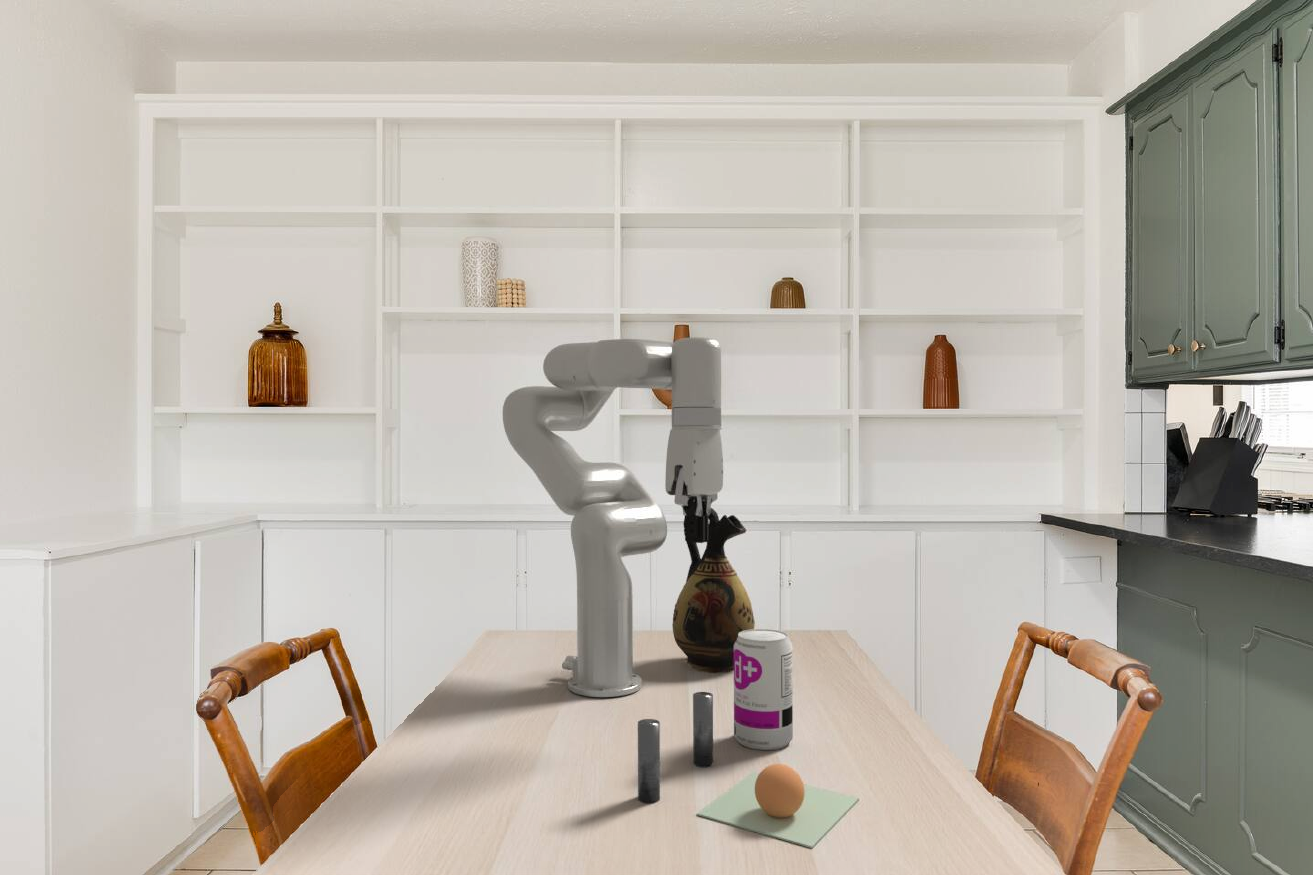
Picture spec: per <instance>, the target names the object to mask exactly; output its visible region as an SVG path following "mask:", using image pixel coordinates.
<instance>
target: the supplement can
mask: <svg viewBox="0 0 1313 875" xmlns="http://www.w3.org/2000/svg"><path fill="white" fill-rule="evenodd" d="M793 668H794V666H793V643H791V640H790V638H789V635H788V634H787V633H786V632H784V631H782V630H781V631H780V630H777V629H768V628H754V629H752V630H745V631H742V632H739V634H738V638H737V640H736V642H735V644H734V670H733V736H734V738H735V739H736V740H737V741H738V742H739V744H740V745H742V746H744V747H746V748H749V749H752V750H757V751H758V750H759V751H772V750H780V749H783V748H785V747H786V746H788V745H789V743H790V742H792V740H793V738H794V737H793V736H794V735H793V734H794V729H793V728H794V722H793V721H794V719H793V718H794V716H793V715H794V711H793V710H794V709H793V707H794V702H793V701H794V698H793V697H794V696H793V695H794V694H793V693H794V692H793V691H794V690H793V687H794V686H793V684H794V683H793V676H794V675H793V673H794V672H793Z"/></svg>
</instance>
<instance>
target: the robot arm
mask: <svg viewBox="0 0 1313 875" xmlns="http://www.w3.org/2000/svg"><path fill="white" fill-rule="evenodd" d="M721 349H722V348H721V344H720V343H719V341H718V340H716V339H714V338H710V337H697V336H696V337H695V336H694V337H683V338H679V339H676V340H675V341H674V342H672V341H661V340H651V339H639V338H619V339H604V340H603V339H602V340H599V341H594V342H593V341H591V342H574V343H573V342H572V343H563V344H561V345H557V346H555V347H553V348H552V349H550V351H548V353H547V354H546V356H545V358H544V360H543V364H542V365H543V366H542V369H543V373H544V376H545V378H546V380H548V382H549V383H550V384H551V385H553V386H543V385H542V386H541V385H540V386H539V385H536V386H535V385H534V386H533V385H532V386H525V387H520V388H517V389H515V390H513V391H512V392H510V393H509V394H508V395H507V397H506V398H505V400H504V401H503V406H502V423H503V427H504V432H505V435H506V437H507V439H508V442H509V444H510V445H511V447H512V448H513V450H514V452H516V453H517V455H518V456H519V457H520V458H521V459H522V461H523V462H524V463H525V464H527V466H528V467H529V468H530V469H531V470H532V471H533V473H534V474H535V476H536V477H537V479H538V481H539V482H540V483H541V485H542V486H543V488H544V490H545V491H546V492H547V493H548V495H549V496H550V498H551V499H552V501H553V502H554V504H555V506H557V508H558V509H560V512H562V513H564V514H565V515H568V516H571V517H573V518H572V521H571V524H570V537H571V543H572V547H573V553H574V560H575V567H576V568H575V570H576V572H575V573H576V622H577V623H576V625H577V626H576V628H577V630H576V638H577V639H576V642H577V643H576V644H577V645H576V646H577V648H576V652H577V653H576V654H577V656H575V655H570V654H569V655H567V656H566V657H565V659H564V661H563V662H562V663H561V668H562V669H563V670H567V671H571V672H572V677H571V678H569V679H568V682H567V683H568V686H567V687H568V690H570V691H571V692H572V693H574V694H576V695H579V696H583V697H589V698H615V697H622V696H626V695H630V694H633V693H636V692H637V691H640V689H641V688H642V687H643V682H642V678H641V676H639V675H638V674H635V673H634V667H633V666H634V658H633V657H634V653H633V652H634V650H633V649H634V648H633V646H634V640H633V638H634V635H633V634H634V633H633V632H634V631H633V629H634V627H633V623H634V621H633V620H634V619H633V618H634V617H633V616H634V615H633V611H634V610H633V608H634V607H633V604H634V603H633V582H632V577H631V575H630V573H629V571H628V570H627V568H626V565H625V564H624V561H623V560H622V558H623V557H627V556H629V557H630V556H635V555H636V556H637V555H644V554H650V553H652V552H655V551H657V550H659V549H660V548H661V547H662V546H663V545H664V543H665V541H666V539H667V536H668V525H667V524H668V523H667V520H666V517H665V514H664V512H663V510H662V508H661V507H660V505H658V503H657V502H656V500H655V499H654V498H653V497H652V495H651V494H650V493H649V492H648V490H647V489H646V488H645V486H644V485H643V484H642V482H641V481H640V480H639V479H638V477H636V475H635V474H634V473H633V472H632V470H630V469H629V468H628V467H626V466H625V465H622V464H621V463H616V462H591V461H587V460H584V459H583V458H582V457H581V456H580V455H579V453H577V452H576V449H575V448H574V447H573V446H572V445H571V444H570V443H569V442H568V441H567V440H566V439H564V438H563V437H561V436H559V435H558V434H557V433H554V432H577V431H581V430H582V431H583V429H586V428H587V427H588V426H589V425H590V424H592V422H593V421H594V420H595V418H596V417H597V415H598V414H599V412H600V411H601V410H602V409H603V407H604V406H605V404H606V403H607V402H608V400H609V398H610V397H611V395H612V394H613V393H614V392H615V390H616V389H617V388H623V389H625V388H628V389H629V388H630V389H649V390H650V389H651V390H652V389H653V390H654V389H655V390H671V401H670V402H671V429H670V430H669V435H668V440H667V442H668V443H667V447H666V449H667V450H666V458H665V460H666V461H665V462H666V463H665V484H664V485H665V486H664V487H665V488H664V489H665V491H666V494H667V495H669V496H674V505H678V506H680V507H681V508H682V514H683V516H684V518H685V535H684V540H685V542H686V543H687V542H694V543H698V544H703V543H707V542H708V540H709V522H710V521H709V516H707V515H709V514H710V510H711V508H712V503H714V502H715V501H717V500H718V496H719V495H718V493H720V492H721V491H722V490H723V485H724V460H723V459H724V458H723V445H722V444H723V443H722V436H721V435H722V434H721V430H722V350H721Z"/></svg>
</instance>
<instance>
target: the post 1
mask: <svg viewBox="0 0 1313 875" xmlns="http://www.w3.org/2000/svg"><path fill="white" fill-rule="evenodd" d="M660 725H661V724H660V721H659V720H657V719H654V718H644V719H643V718H642V719H640V720H639V721H638V722H637V800H638V801H639V802H640V803H644V804H655V803H657V802H659V801H660V799H661V794H660V793H661V786H660V784H661V783H660V782H661V774H660V773H661V768H660V767H661V765H660V764H661V756H660V754H661V748H660V743H661V742H660V739H661V738H660V737H661V736H660V735H661V734H660V732H661V731H660V730H661V729H660V728H661V727H660Z"/></svg>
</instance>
